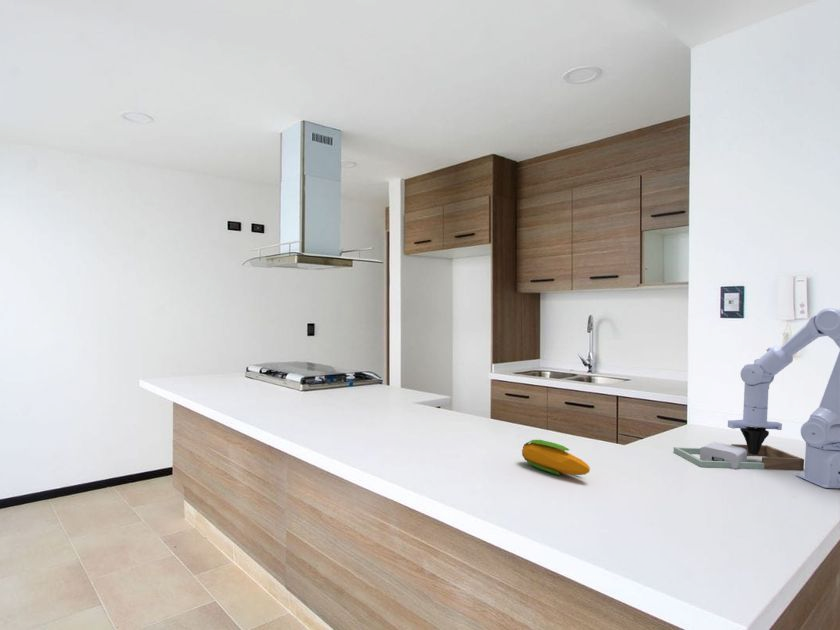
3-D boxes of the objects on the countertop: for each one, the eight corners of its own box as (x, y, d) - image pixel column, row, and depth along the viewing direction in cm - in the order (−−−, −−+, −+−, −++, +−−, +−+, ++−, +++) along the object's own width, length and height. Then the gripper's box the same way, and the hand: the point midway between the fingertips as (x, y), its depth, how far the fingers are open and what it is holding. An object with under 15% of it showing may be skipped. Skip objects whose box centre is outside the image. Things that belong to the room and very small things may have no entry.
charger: (753, 461, 145) (736, 471, 135) (717, 453, 152) (699, 462, 142) (753, 445, 145) (737, 453, 135) (718, 438, 152) (700, 445, 142)
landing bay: (764, 469, 137) (764, 463, 137) (700, 467, 136) (701, 461, 136) (730, 454, 151) (731, 449, 150) (673, 452, 150) (673, 447, 150)
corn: (533, 431, 137) (599, 449, 121) (533, 459, 137) (599, 480, 122) (515, 437, 132) (582, 456, 116) (515, 465, 132) (582, 488, 117)
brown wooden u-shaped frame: (803, 470, 137) (804, 459, 137) (764, 469, 137) (764, 458, 136) (766, 455, 151) (767, 445, 151) (730, 454, 151) (731, 444, 150)
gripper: (770, 404, 148) (767, 450, 148) (721, 403, 147) (719, 449, 147) (788, 409, 141) (786, 457, 141) (737, 407, 140) (735, 456, 140)
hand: (753, 453), depth 143 cm, fingers closed
